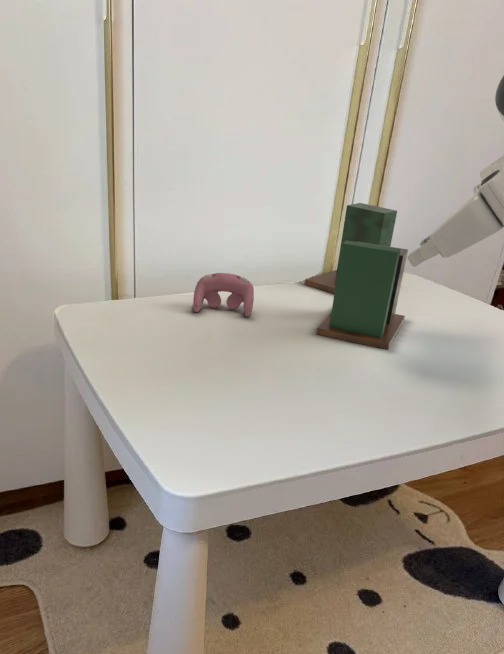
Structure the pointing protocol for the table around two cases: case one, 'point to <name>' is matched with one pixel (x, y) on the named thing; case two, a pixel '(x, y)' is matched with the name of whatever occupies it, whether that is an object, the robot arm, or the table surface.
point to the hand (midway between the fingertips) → (417, 254)
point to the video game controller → (226, 283)
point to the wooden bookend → (392, 320)
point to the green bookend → (359, 236)
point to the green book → (364, 288)
